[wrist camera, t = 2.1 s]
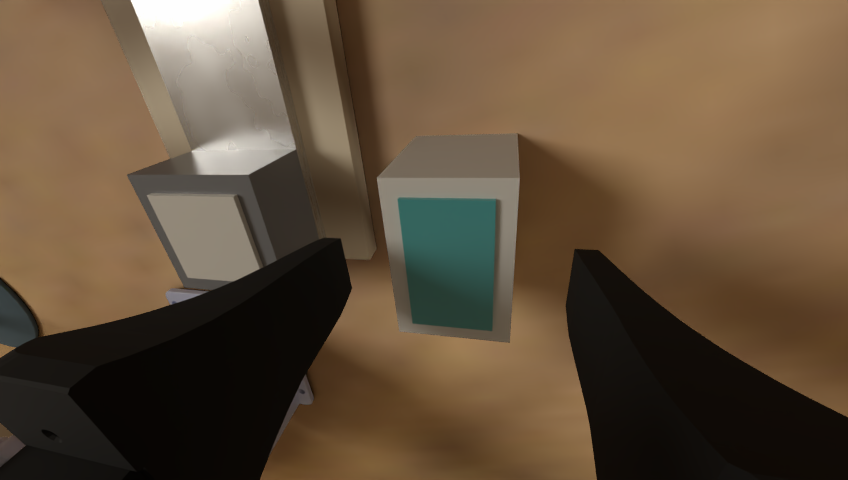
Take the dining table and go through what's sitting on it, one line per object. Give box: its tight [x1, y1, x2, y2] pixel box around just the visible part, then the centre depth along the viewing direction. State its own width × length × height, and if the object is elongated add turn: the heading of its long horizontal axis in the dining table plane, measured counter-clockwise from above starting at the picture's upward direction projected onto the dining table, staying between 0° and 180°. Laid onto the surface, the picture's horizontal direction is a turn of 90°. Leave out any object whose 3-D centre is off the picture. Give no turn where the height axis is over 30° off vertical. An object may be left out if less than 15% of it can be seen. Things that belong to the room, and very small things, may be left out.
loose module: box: [377, 133, 520, 343], centre depth 13 cm, size 6×4×5 cm, turn 5°
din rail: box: [131, 0, 326, 239], centre depth 13 cm, size 19×5×1 cm, turn 5°
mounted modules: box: [127, 149, 319, 290], centre depth 11 cm, size 18×5×3 cm, turn 5°
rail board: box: [101, 0, 377, 260], centre depth 13 cm, size 19×9×1 cm, turn 5°
